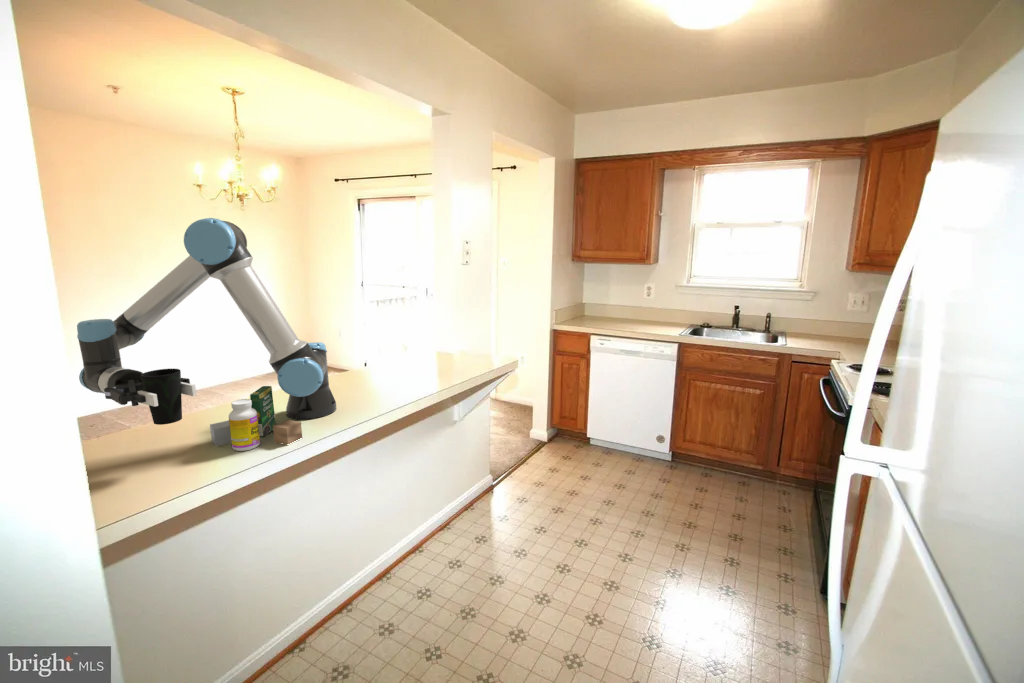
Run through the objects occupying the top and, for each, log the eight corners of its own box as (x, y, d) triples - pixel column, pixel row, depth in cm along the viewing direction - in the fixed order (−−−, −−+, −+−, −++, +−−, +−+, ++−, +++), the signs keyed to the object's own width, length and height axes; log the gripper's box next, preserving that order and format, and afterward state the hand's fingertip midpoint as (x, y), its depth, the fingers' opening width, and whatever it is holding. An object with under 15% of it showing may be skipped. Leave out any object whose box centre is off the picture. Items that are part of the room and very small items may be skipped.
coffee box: (264, 438, 133) (259, 393, 130) (253, 438, 133) (248, 393, 130) (277, 427, 141) (272, 385, 138) (267, 427, 141) (262, 385, 138)
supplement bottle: (255, 451, 124) (249, 404, 122) (228, 452, 123) (222, 406, 121) (264, 441, 131) (259, 397, 128) (238, 442, 130) (233, 398, 127)
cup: (194, 414, 117) (187, 368, 115) (173, 426, 110) (166, 376, 107) (162, 415, 117) (155, 368, 114) (140, 426, 109) (131, 376, 107)
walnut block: (289, 436, 134) (287, 419, 133) (302, 438, 132) (300, 422, 131) (274, 442, 130) (272, 425, 129) (288, 445, 128) (286, 428, 127)
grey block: (232, 436, 134) (230, 420, 133) (236, 441, 131) (234, 424, 130) (211, 441, 131) (209, 424, 130) (216, 446, 127) (213, 429, 126)
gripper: (170, 386, 129) (221, 398, 119) (76, 409, 112) (126, 424, 101) (166, 360, 128) (217, 369, 118) (70, 379, 110) (121, 391, 100)
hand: (175, 395), depth 110 cm, fingers closed on cup, 8 cm apart
